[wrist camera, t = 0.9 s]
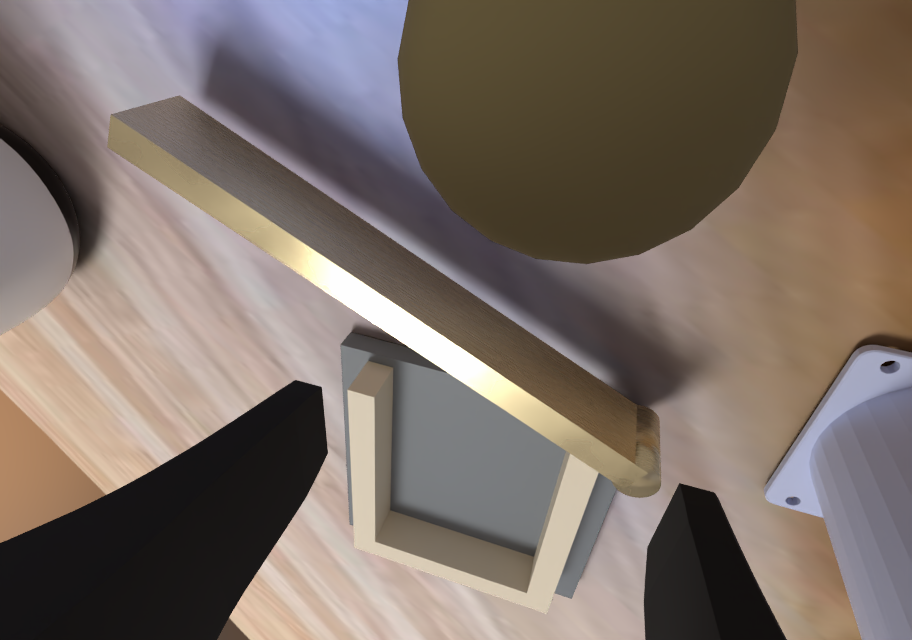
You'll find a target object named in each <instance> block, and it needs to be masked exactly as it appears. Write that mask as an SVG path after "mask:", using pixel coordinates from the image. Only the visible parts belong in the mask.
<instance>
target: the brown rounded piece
mask: <svg viewBox="0 0 912 640" xmlns="http://www.w3.org/2000/svg"><path fill="white" fill-rule="evenodd" d="M797 54H798V44H797V21H796V0H409V1H408V7H407V12H406V17H405V23H404V28H403V33H402V39H401V44H400V50H399V55H398V70H399V81H400V93H401V104H402V116H403V120H404V123H405V126H406V128H407V131H408V134H409V136H410V139H411V142H412V144H413V147H414V150H415V153H416V155H417V158H418V161H419V163H420V166H421V169H422V170H423V172H424V173H425V174H426V176H427V177H428V178H429V180H430V181H431V183H432V184H433V185H434V187H435V188H436V189H437V191H438V192H439V194H440V195H441V196H442V198H443V199H444V200H445V202H446V203H447V205H448V206H449V207H450V209H451V210H452V211H453V212H455V213H456V214H457V215H458V216H460V217H461V218H462V219H464V220H465V221H466V222H467V223H469V224H470V225H471V226H473V227H474V228H475V229H476V230H478V231H479V232H480V233H481V234H483V235H484V236H485V237H487V238H488V239H489V240H490V241H493V242H495V243H498V244H500V245H503V246H505V247H508V248H510V249H513V250H515V251H518V252H520V253H523V254H525V255H528V256H530V257H533V258H535V259H542V260H552V261H562V262H572V263H582V264H589V263H595V262H600V261H606V260H612V259H617V258H623V257H628V256H634V255H639V254H641V253H643V252H646V251H648V250H650V249H652V248H654V247H656V246H658V245H660V244H662V243H664V242H666V241H668V240H670V239H673V238H675V237H677V236H679V235H681V234H683V233H685V232H687V231H689V230H691V229H692V228H693V227H695V226H696V225H697V224H698V223H699V222H700V221H701V220H703V219H704V218H705V217H706V216H707V215H708V214H709V213H710V212H712V211H713V210H714V209H715V208H716V207H717V206H718V205H720V204H721V203H722V202H723V201H724V200H725V199H726V198H728V197H729V196H730V195H731V194H732V193H733V192H734V191H735V190H737V189H738V188H739V186H740V185H741V183H742V182H743V180H744V178H745V177H746V175H747V174H748V172H749V171H750V169H751V168H752V166H753V164H754V163H755V161H756V160H757V158H758V157H759V155H760V154H761V152H762V150H763V149H764V147H765V146H766V144H767V143H768V141H769V140H770V138H771V136H772V135H773V133H774V132H775V130H776V127H777V124H778V120H779V117H780V113H781V110H782V106H783V103H784V99H785V96H786V92H787V89H788V85H789V82H790V78H791V75H792V71H793V68H794V64H795V61H796V57H797Z"/></svg>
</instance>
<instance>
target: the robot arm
mask: <svg viewBox="0 0 912 640" xmlns="http://www.w3.org/2000/svg"><path fill="white" fill-rule="evenodd" d="M887 361H895V362H894V363H893V364H892V365H889V366H881V365H882V364H883V363H884V362H887ZM327 454H328V449H327V439H326V428H325V417H324V407H323V396H322V387H320V386H316V385H312V384H308V383H305V382H301V381H297V380H295V381H293V382H292V383H290V384H288V385H287V386H285V387H284V388H282V389H281V390H279V391H278V392H276V393H275V394H273V395H272V396H270V397H269V398H267V399H266V400H264V401H263V402H261V403H260V404H258V405H257V406H255V407H254V408H252V409H251V410H249V411H247V412H246V413H244V414H243V415H241V416H240V417H238V418H237V419H235V420H234V421H232V422H231V423H229V424H228V425H226V426H225V427H223V428H221V429H220V430H218V431H217V432H215V433H214V434H212V435H210V436H209V437H207V438H206V439H204V440H203V441H201V442H199V443H198V444H196V445H195V446H193V447H191V448H190V449H188V450H186V451H185V452H183V453H181V454H180V455H178V456H176V457H174V458H173V459H171V460H169V461H168V462H166V463H164V464H162V465H161V466H159V467H157V468H156V469H154V470H152V471H151V472H149V473H147V474H145V475H143V476H142V477H140V478H138V479H136V480H134V481H132V482H131V483H129V484H127V485H125V486H123V487H121V488H119V489H117V490H115V491H113V492H111V493H109V494H107V495H105V496H104V497H101V498H99V499H98V500H95V501H94V502H91V503H90V504H87V505H85V506H83V507H81V508H79V509H77V510H75V511H73V512H70V513H68V514H66V515H64V516H61V517H59V518H57V519H55V520H53V521H50V522H48V523H46V524H43V525H41V526H39V527H37V528H34V529H32V530H30V531H27V532H25V533H23V534H20V535H18V536H16V537H14V538H11V539H9V540H7V541H4V542H2V543H0V640H217V639H218V636H219V635H220V633H221V631H222V629H223V627H224V626H225V624H226V622H227V620H228V618H229V616H230V614H231V613H232V611H233V609H234V608H235V606H236V605H237V603H238V601H239V600H240V598H241V596H242V595H243V593H244V591H245V590H246V588H247V587H248V585H249V584H250V582H251V581H252V579H253V578H254V576H255V575H256V573H257V572H258V570H259V569H260V567H261V566H262V564H263V562H264V561H265V559H266V558H267V556H268V555H269V553H270V552H271V550H272V549H273V547H274V546H275V544H276V543H277V541H278V540H279V538H280V537H281V535H282V534H283V532H284V531H285V529H286V528H287V526H288V524H289V523H290V521H291V520H292V518H293V517H294V515H295V514H296V512H297V511H298V509H299V507H300V506H301V504H302V503H303V501H304V500H305V498H306V496H307V494H308V492H309V491H310V489H311V487H312V485H313V483H314V481H315V479H316V477H317V475H318V473H319V471H320V468H321V466H322V464H323V462H324V460H325V458H326V456H327ZM764 493H765V497H766V499H767V500H768V501H769V502H771V503H773V504H776V505H779V506H783V507H786V508H790V509H793V510H797V511H801V512H804V513H808V514H811V515H815V516H818V517H822V518H824V520H825V524H826V527H827V530H828V533H829V536H830V539H831V543H832V546H833V549H834V552H835V555H836V559H837V562H838V565H839V568H840V571H841V574H842V578H843V581H844V584H845V587H846V590H847V593H848V597H849V600H850V603H851V606H852V609H853V613H854V616H855V619H856V622H857V625H858V628H859V632H860V635H861V638H862V640H912V353H911V352H907V351H902V350H898V349H893V348H888V347H884V346H879V345H866V346H862V347H860V348H858V349H857V350H856V351H855V352H854V353H853V354H852V356H851V357H850V359H849V360H848V362H847V363H846V365H845V366H844V368H843V369H842V371H841V372H840V374H839V375H838V377H837V378H836V380H835V381H834V383H833V384H832V386H831V387H830V389H829V390H828V392H827V393H826V395H825V396H824V398H823V399H822V401H821V402H820V404H819V406H818V407H817V409H816V410H815V412H814V413H813V415H812V416H811V418H810V419H809V421H808V422H807V424H806V425H805V427H804V428H803V430H802V431H801V433H800V434H799V436H798V437H797V439H796V440H795V442H794V443H793V445H792V446H791V448H790V449H789V451H788V453H787V454H786V456H785V457H784V459H783V460H782V462H781V463H780V465H779V466H778V468H777V469H776V471H775V472H774V474H773V475H772V477H771V478H770V480H769V481H768V483H767V484H766V486H765V488H764ZM792 496H793V498H790V497H792ZM644 616H645V639H646V640H787V639H786V637H785V636H784V634H783V632H782V630H781V628H780V626H779V624H778V622H777V620H776V618H775V616H774V614H773V613H772V611H771V609H770V607H769V605H768V603H767V601H766V599H765V597H764V595H763V593H762V591H761V589H760V587H759V585H758V583H757V581H756V579H755V577H754V575H753V573H752V571H751V569H750V567H749V565H748V563H747V560H746V558H745V556H744V554H743V552H742V550H741V548H740V546H739V543H738V541H737V539H736V537H735V535H734V533H733V530H732V528H731V526H730V524H729V521H728V519H727V517H726V515H725V512H724V510H723V508H722V506H721V503H720V501H719V499H718V497H717V496H716V494H715V493H714V492H710V491H706V490H703V489H699V488H695V487H692V486H688V485H684V484H680V483H679V485H678V487H677V489H676V491H675V493H674V495H673V497H672V499H671V501H670V503H669V505H668V507H667V509H666V511H665V513H664V515H663V517H662V519H661V521H660V523H659V525H658V527H657V529H656V531H655V533H654V535H653V537H652V539H651V541H650V543H649V545H648V549H647V562H646V575H645V592H644Z"/></svg>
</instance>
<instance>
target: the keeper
mask: <svg viewBox="0 0 912 640" xmlns="http://www.w3.org/2000/svg"><path fill="white" fill-rule="evenodd" d="M107 147H108V148H109V149H111V150H112V151H114V152H115V153H117V154H118V155H120V156H121V157H123V158H124V159H126V160H127V161H129V162H130V163H132V164H134V165H135V166H137V167H138V168H140V169H141V170H143V171H144V172H146V173H147V174H149V175H150V176H152V177H153V178H155V179H156V180H158V181H159V182H161V183H162V184H164V185H165V186H167V187H168V188H170V189H171V190H173V191H174V192H176V193H177V194H179V195H180V196H182V197H183V198H185V199H186V200H188V201H189V202H191V203H192V204H194V205H195V206H197V207H198V208H200V209H201V210H203V211H204V212H206V213H208V214H209V215H211V216H212V217H214V218H215V219H217V220H218V221H220V222H221V223H223V224H224V225H226V226H227V227H229V228H230V229H232V230H233V231H235V232H236V233H238V234H239V235H241V236H242V237H244V238H245V239H247V240H248V241H250V242H251V243H253V244H254V245H256V246H257V247H259V248H260V249H262V250H263V251H265V252H266V253H268V254H269V255H271V256H272V257H274V258H275V259H277V260H279V261H280V262H282V263H283V264H285V265H286V266H288V267H289V268H291V269H292V270H294V271H295V272H297V273H298V274H300V275H301V276H303V277H304V278H306V279H307V280H309V281H310V282H312V283H313V284H315V285H316V286H318V287H319V288H321V289H322V290H324V291H325V292H327V293H328V294H330V295H331V296H333V297H334V298H336V299H337V300H339V301H340V302H342V303H343V304H345V305H346V306H348V307H349V308H351V309H353V310H354V311H356V312H357V313H359V314H360V315H362V316H363V317H365V318H366V319H368V320H369V321H371V322H372V323H374V324H375V325H377V326H378V327H380V328H381V329H383V330H384V331H386V332H387V333H389V334H390V335H392V336H393V337H395V338H396V339H398V340H399V341H401V342H402V343H404V344H405V345H407V346H408V347H410V348H411V349H413V350H414V351H416V352H417V353H419V354H420V355H422V356H424V357H425V358H427V359H428V360H430V361H431V362H433V363H434V364H436V365H437V366H439V367H440V368H442V369H443V370H445V371H446V372H448V373H449V374H451V375H452V376H454V377H455V378H457V379H458V380H460V381H461V382H463V383H464V384H466V385H467V386H469V387H470V388H472V389H473V390H475V391H476V392H478V393H479V394H481V395H482V396H484V397H485V398H487V399H488V400H490V401H491V402H493V403H494V404H496V405H498V406H499V407H501V408H502V409H504V410H505V411H507V412H508V413H510V414H511V415H513V416H514V417H516V418H517V419H519V420H520V421H522V422H523V423H525V424H526V425H528V426H529V427H531V428H532V429H534V430H535V431H537V432H538V433H540V434H541V435H543V436H544V437H546V438H547V439H549V440H550V441H552V442H553V443H555V444H556V445H558V446H559V447H561V448H562V449H564V450H565V451H567V452H569V453H570V454H572V455H573V456H575V457H576V458H578V459H579V460H581V461H582V462H584V463H585V464H587V465H588V466H590V467H591V468H593V469H594V470H596V471H597V472H599V473H600V474H602V475H603V476H605V477H606V478H608V479H609V480H611V481H612V483H613V485H614V487H615V488H616V489H617V490H618V491H620V492H621V493H623V494H625V495H628V496H631V497H638V498H642V497H648V496H651V495H654V494H655V493H657V492H658V491H659V489H660V487H661V461H660V421H659V417H658V415H657V414H656V413H655V412H654V411H653V410H651V409H650V408H647V407H645V406H640V405H636V404H635V403H633V402H632V401H630V400H629V399H627V398H626V397H624V396H623V395H621V394H620V393H618V392H617V391H615V390H614V389H612V388H611V387H609V386H608V385H607V384H605V383H604V382H602V381H601V380H599V379H598V378H596V377H595V376H593V375H592V374H590V373H589V372H587V371H586V370H584V369H583V368H581V367H580V366H578V365H577V364H576V363H574V362H573V361H571V360H570V359H568V358H567V357H565V356H564V355H562V354H561V353H559V352H558V351H556V350H555V349H553V348H552V347H550V346H549V345H547V344H546V343H545V342H543V341H542V340H540V339H539V338H537V337H536V336H534V335H533V334H531V333H530V332H528V331H527V330H525V329H524V328H522V327H521V326H519V325H518V324H516V323H515V322H514V321H512V320H511V319H509V318H508V317H506V316H505V315H503V314H502V313H500V312H499V311H497V310H496V309H494V308H493V307H491V306H490V305H488V304H487V303H485V302H484V301H482V300H481V299H480V298H478V297H477V296H475V295H474V294H472V293H471V292H469V291H468V290H466V289H465V288H463V287H462V286H460V285H459V284H457V283H456V282H454V281H453V280H451V279H450V278H449V277H447V276H446V275H444V274H443V273H441V272H440V271H438V270H437V269H435V268H434V267H432V266H431V265H429V264H428V263H426V262H425V261H423V260H422V259H420V258H419V257H418V256H416V255H415V254H413V253H412V252H410V251H409V250H407V249H406V248H404V247H403V246H401V245H400V244H398V243H397V242H395V241H394V240H392V239H391V238H389V237H388V236H387V235H385V234H384V233H382V232H381V231H379V230H378V229H376V228H375V227H373V226H372V225H370V224H369V223H367V222H366V221H364V220H363V219H361V218H360V217H358V216H357V215H355V214H354V213H353V212H351V211H350V210H348V209H347V208H345V207H344V206H342V205H341V204H339V203H338V202H336V201H335V200H333V199H332V198H330V197H329V196H327V195H326V194H324V193H323V192H322V191H320V190H319V189H317V188H316V187H314V186H313V185H311V184H310V183H308V182H307V181H305V180H304V179H302V178H301V177H299V176H298V175H296V174H295V173H293V172H292V171H291V170H289V169H288V168H286V167H285V166H283V165H282V164H280V163H279V162H277V161H276V160H274V159H273V158H271V157H270V156H268V155H267V154H265V153H264V152H262V151H261V150H260V149H258V148H257V147H255V146H254V145H252V144H251V143H249V142H248V141H246V140H245V139H243V138H242V137H240V136H239V135H237V134H236V133H234V132H233V131H231V130H230V129H228V128H227V127H226V126H224V125H223V124H221V123H220V122H218V121H217V120H215V119H214V118H212V117H211V116H209V115H208V114H206V113H205V112H203V111H202V110H200V109H199V108H197V107H196V106H195V105H193V104H192V103H190V102H189V101H187V100H186V99H184V98H183V97H181V96H180V95H179V96H176V97H172V98H169V99H165V100H161V101H158V102H154V103H151V104H147V105H143V106H140V107H136V108H132V109H129V110H125V111H122V112H118V113H114V114H111V117H110V127H109V136H108V146H107Z"/></svg>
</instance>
